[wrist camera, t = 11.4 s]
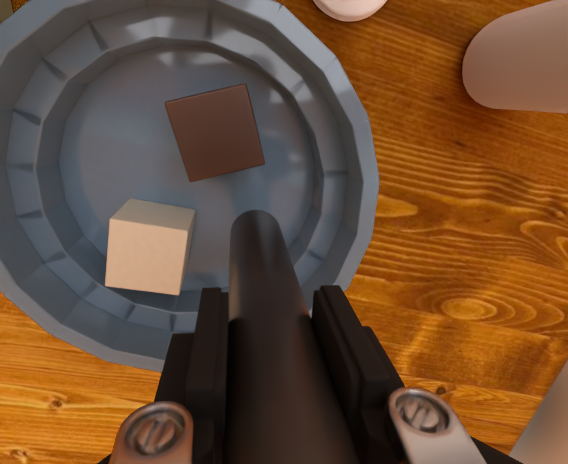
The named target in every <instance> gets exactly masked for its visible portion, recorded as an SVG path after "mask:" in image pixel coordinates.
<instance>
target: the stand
mask: <svg viewBox="0 0 568 464" xmlns="http://www.w3.org/2000/svg"><path fill="white" fill-rule="evenodd" d="M12 14H13V10H12V4H11V0H0V24H1V23H2V22H3V21H4V20H6V19H7V18H8V17H9V16H11V15H12Z"/></svg>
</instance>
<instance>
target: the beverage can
mask: <svg viewBox="0 0 568 464" xmlns="http://www.w3.org/2000/svg"><path fill="white" fill-rule="evenodd" d="M462 76H463V84H464V86H465V88H466V90H467V93H468V94H469V95H470V96H471V97H472V99H473V100H474V101H476V102H478V103H479V104H481V105H482V106H485V107H489V108H492V109H510V110H527V111H541V112H554V113H568V0H552V1H549V2H546V3H543V4H539V5H536V6H533V7H529V8H526V9H523V10H519V11H516V12H513V13H509V14H506V15H503V16H501V17H499V18H497V19H495V20H493V21H492V22H490V23H489V24H488V25H486V26H485V27H484V28H482V30H481V31H480V32H479V33H478V34H477V35H476V36H475V37H474V38H473V40H472V41H471V43H470V45H469V46H468V48H467V50H466V53H465V56H464V59H463V67H462Z"/></svg>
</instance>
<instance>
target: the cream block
mask: <svg viewBox="0 0 568 464" xmlns="http://www.w3.org/2000/svg"><path fill="white" fill-rule="evenodd" d="M195 213H196V210H195V209H190V208H184V207H178V206H172V205H166V204H161V203H155V202H149V201H143V200H137V199H132V198H131V199H129V200H128V201H127V202H126V203H125V204H124V205H123V206H122V207H121V208H120V209H119V210H118V211H117V212H116V213H115V214H114V215H113V216H112V217H111V218H110V220H109V234H108V248H107V263H106V277H105V286H108V287H116V288H124V289H132V290H140V291H148V292H156V293H164V294H171V295H179V294H180V291H181V287H182V283H183V280H184V276H185V273H186V269H187V266H188V260H189V253H190V246H191V240H192V233H193V226H194V220H195Z"/></svg>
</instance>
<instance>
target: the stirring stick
mask: <svg viewBox="0 0 568 464" xmlns="http://www.w3.org/2000/svg"><path fill="white" fill-rule="evenodd" d="M228 321H229V324H228V357H227V390H226V423H225V435H224V439H223V449H222V464H361V463H360V460H359V458H358V455H357V452H356V449H355V446H354V443H353V440H352V437H351V434H350V431H349V428H348V425H347V422H346V419H345V416H344V414H343V411H342V408H341V405H340V402H339V399H338V396H337V393H336V390H335V387H334V384H333V381H332V378H331V375H330V372H329V369H328V367H327V364H326V361H325V358H324V355H323V352H322V349H321V346H320V343H319V340H318V337H317V334H316V331H315V328H314V325H313V322H312V320H311V317H310V314H309V311H308V308H307V305H306V302H305V299H304V296H303V293H302V290H301V287H300V284H299V281H298V278H297V275H296V273H295V270H294V267H293V264H292V261H291V258H290V255H289V252H288V249H287V246H286V243H285V240H284V237H283V234H282V231H281V229H280V226H279V223H278V221H277V220H276V219H275V217H274V216H272V215H271V214H270V213H268V212H266V211H263V210H249V211H246V212H244V213H242V214H241V215H239V216H238V217H237V218H236V219H235V221H234V222H233V224H232V227H231V232H230V258H229V285H228Z"/></svg>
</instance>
